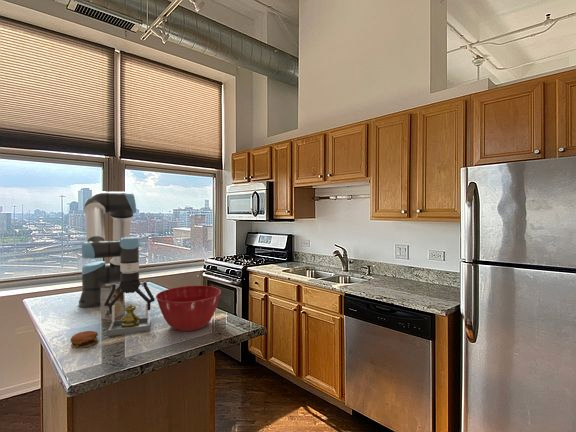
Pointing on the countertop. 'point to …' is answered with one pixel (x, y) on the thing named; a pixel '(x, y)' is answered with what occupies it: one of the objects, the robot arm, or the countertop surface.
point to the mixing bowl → (188, 306)
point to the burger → (84, 339)
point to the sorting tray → (117, 330)
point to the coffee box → (118, 304)
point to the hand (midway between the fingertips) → (130, 319)
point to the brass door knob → (130, 317)
